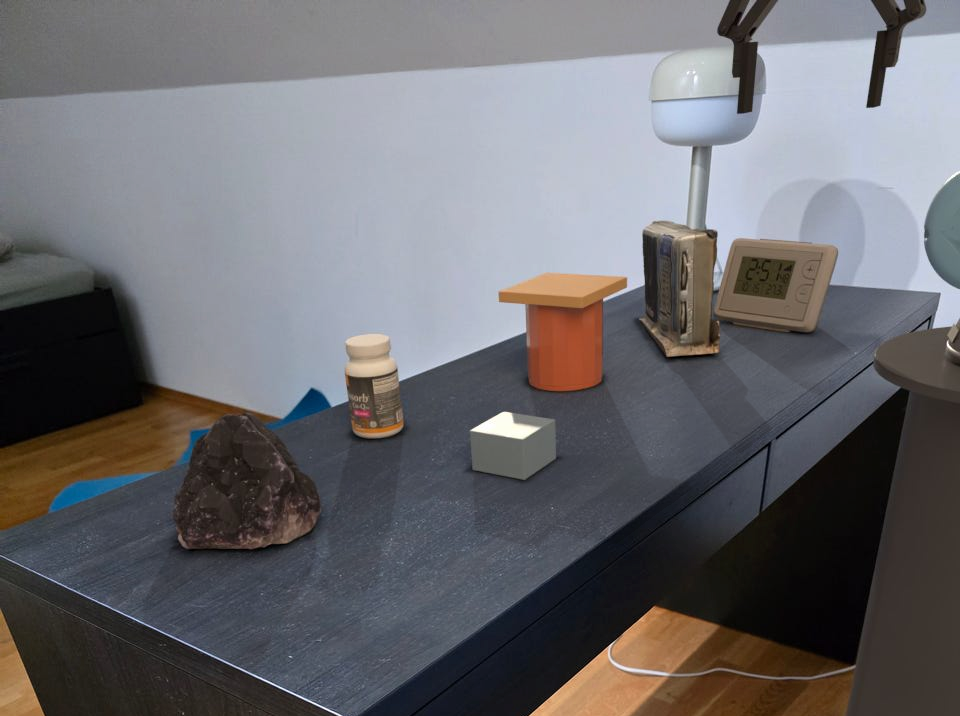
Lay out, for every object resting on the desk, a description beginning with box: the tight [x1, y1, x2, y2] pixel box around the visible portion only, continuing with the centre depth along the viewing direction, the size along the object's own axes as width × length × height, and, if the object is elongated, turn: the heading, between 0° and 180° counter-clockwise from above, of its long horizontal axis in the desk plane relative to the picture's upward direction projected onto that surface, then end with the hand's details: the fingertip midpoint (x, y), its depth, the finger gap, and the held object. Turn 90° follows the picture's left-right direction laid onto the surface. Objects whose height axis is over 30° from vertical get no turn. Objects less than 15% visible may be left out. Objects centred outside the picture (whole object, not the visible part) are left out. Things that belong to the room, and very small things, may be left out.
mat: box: [498, 272, 628, 308], centre depth 103 cm, size 11×11×1 cm
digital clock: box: [713, 237, 839, 333], centre depth 121 cm, size 16×9×11 cm, turn 31°
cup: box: [524, 298, 604, 392], centre depth 106 cm, size 9×9×10 cm
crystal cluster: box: [172, 412, 322, 550], centre depth 76 cm, size 13×14×10 cm
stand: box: [469, 411, 557, 481], centre depth 85 cm, size 6×6×4 cm
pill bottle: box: [344, 333, 404, 440], centre depth 94 cm, size 6×6×10 cm
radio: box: [638, 220, 721, 358], centre depth 117 cm, size 23×9×15 cm, turn 175°
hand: (806, 110), depth 94 cm, fingers open, 13 cm apart
